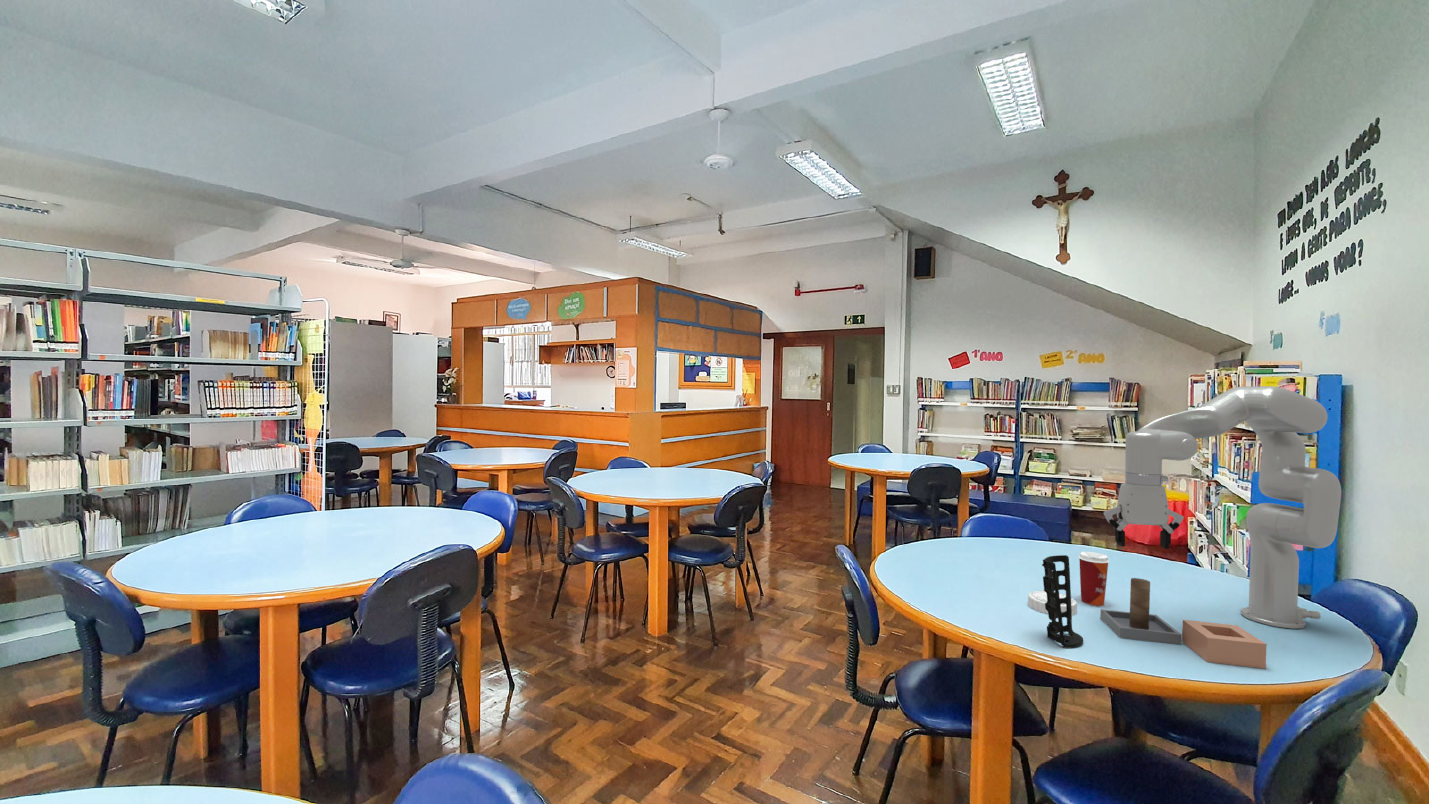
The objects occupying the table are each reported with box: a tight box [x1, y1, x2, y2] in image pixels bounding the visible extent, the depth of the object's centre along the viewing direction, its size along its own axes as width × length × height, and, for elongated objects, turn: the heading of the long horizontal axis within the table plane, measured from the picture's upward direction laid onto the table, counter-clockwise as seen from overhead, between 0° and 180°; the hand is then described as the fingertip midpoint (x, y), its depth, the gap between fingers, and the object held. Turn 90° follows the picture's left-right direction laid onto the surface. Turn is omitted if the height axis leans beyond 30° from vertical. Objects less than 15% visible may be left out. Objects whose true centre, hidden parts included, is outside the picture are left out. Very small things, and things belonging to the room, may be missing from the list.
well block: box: [1181, 619, 1267, 670], centre depth 135 cm, size 11×11×6 cm
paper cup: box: [1077, 551, 1110, 607], centre depth 169 cm, size 8×8×14 cm
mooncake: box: [1027, 590, 1078, 616], centre depth 163 cm, size 12×12×4 cm
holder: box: [1041, 554, 1084, 649], centre depth 142 cm, size 11×8×20 cm
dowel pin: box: [1129, 577, 1151, 630], centre depth 148 cm, size 4×4×12 cm
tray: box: [1099, 609, 1183, 646], centre depth 148 cm, size 13×13×2 cm
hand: (1142, 546), depth 148 cm, fingers open, 9 cm apart
